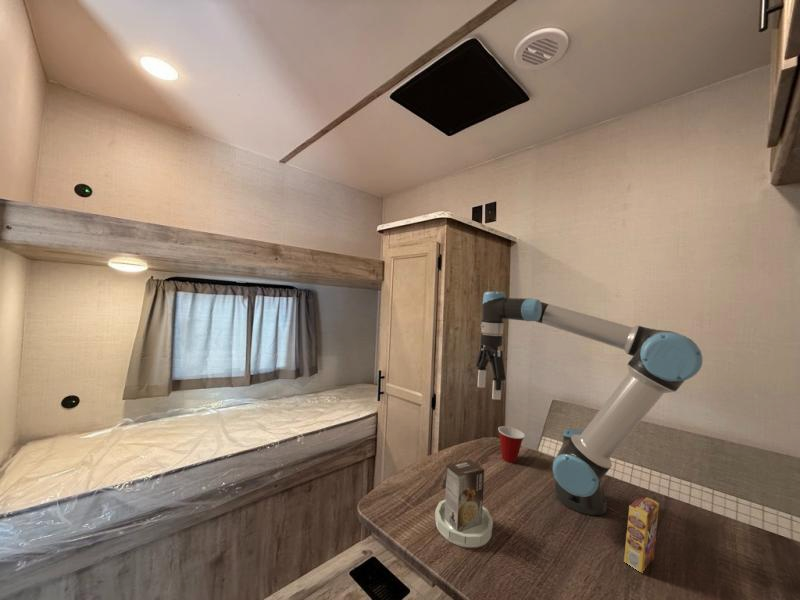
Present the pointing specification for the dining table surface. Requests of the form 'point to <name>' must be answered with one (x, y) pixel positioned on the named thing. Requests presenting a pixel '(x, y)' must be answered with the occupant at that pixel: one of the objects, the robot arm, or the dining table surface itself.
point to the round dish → (469, 536)
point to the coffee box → (464, 495)
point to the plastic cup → (510, 443)
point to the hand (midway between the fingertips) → (488, 392)
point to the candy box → (641, 533)
